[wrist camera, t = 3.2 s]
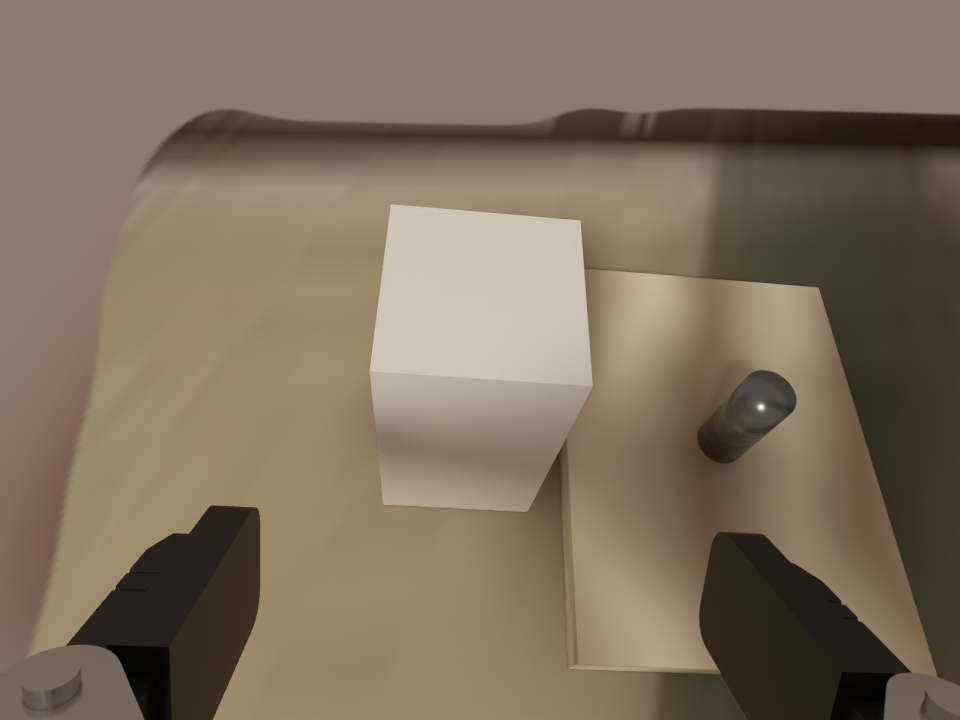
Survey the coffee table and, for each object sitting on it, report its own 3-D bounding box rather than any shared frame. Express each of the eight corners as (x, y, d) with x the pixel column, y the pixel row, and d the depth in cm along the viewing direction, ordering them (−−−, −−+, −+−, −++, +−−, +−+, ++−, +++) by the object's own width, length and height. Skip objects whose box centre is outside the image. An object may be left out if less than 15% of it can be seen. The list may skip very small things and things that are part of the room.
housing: (525, 385, 27) (580, 220, 18) (527, 511, 24) (592, 386, 16) (396, 377, 27) (390, 204, 18) (383, 504, 24) (369, 371, 15)
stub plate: (801, 306, 31) (872, 227, 26) (907, 681, 23) (1039, 664, 18) (552, 286, 30) (579, 201, 25) (568, 668, 22) (612, 647, 17)
